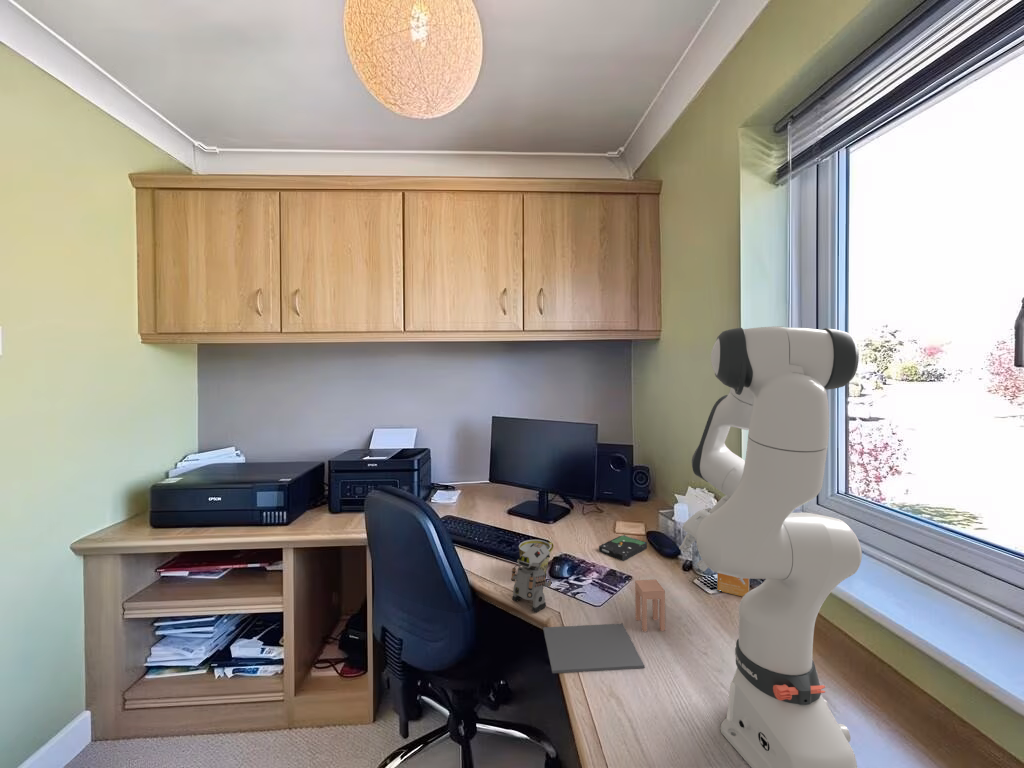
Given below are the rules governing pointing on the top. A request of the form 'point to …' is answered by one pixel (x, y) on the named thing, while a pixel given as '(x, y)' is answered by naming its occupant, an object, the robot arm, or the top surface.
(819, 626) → the top surface
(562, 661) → the charcoal mat
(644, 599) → the miniature stool
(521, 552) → the ceramic cup
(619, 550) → the disk drive
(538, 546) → the figurine
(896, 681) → the top surface
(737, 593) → the small box
